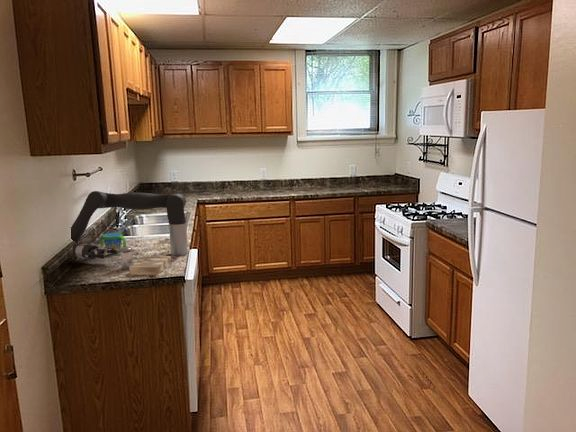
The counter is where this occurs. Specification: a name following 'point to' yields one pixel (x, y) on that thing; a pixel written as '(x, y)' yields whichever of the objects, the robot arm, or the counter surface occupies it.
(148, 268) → the stand
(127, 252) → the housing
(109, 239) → the snack cup
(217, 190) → the counter surface
